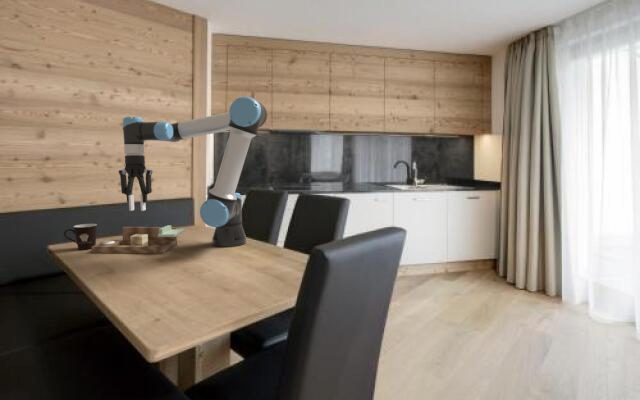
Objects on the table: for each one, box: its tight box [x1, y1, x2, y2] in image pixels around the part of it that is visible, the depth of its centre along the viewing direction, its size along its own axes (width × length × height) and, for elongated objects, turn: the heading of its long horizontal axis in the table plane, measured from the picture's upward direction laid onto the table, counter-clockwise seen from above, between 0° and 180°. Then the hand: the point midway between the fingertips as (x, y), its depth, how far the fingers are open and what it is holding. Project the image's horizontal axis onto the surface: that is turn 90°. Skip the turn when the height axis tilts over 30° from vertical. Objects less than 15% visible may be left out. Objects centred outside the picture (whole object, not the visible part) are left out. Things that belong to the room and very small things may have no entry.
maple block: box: [130, 234, 148, 245], centre depth 166 cm, size 5×5×6 cm
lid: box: [158, 224, 186, 237], centre depth 165 cm, size 7×11×3 cm, turn 178°
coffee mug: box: [63, 223, 98, 251], centre depth 167 cm, size 12×9×10 cm
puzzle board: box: [91, 226, 178, 254], centre depth 166 cm, size 30×14×8 cm, turn 88°
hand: (137, 210), depth 165 cm, fingers open, 4 cm apart
